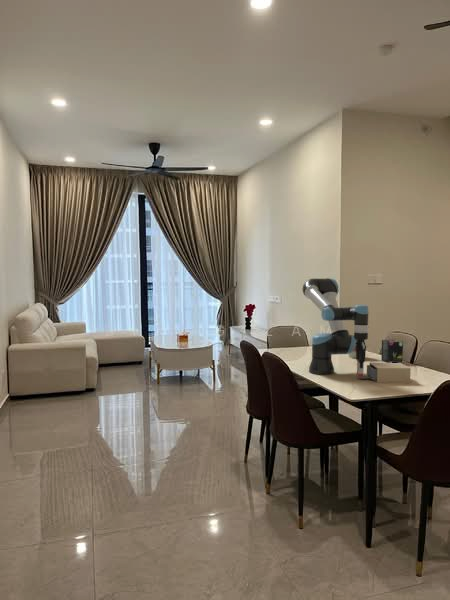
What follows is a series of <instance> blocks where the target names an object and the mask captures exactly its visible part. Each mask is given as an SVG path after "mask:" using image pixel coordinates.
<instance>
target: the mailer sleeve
mask: <svg viewBox="0 0 450 600" xmlns="http://www.w3.org/2000/svg"><path fill="white" fill-rule="evenodd" d="M369 365H373V366H374V367H376V368H377V380H374V381H375V382H376V383H411V369H412V368H411V367H409V366H407V365H406V364H403V362H398V363H388V362H369Z"/></svg>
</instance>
